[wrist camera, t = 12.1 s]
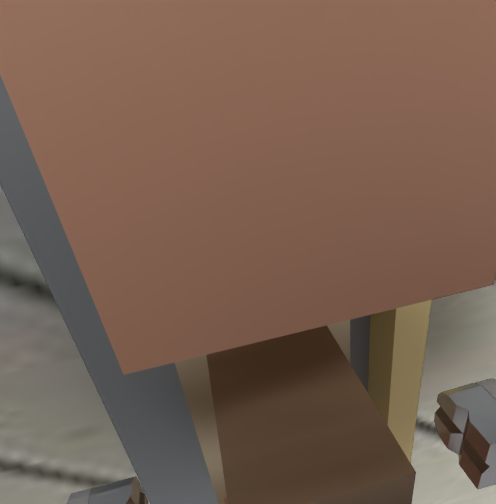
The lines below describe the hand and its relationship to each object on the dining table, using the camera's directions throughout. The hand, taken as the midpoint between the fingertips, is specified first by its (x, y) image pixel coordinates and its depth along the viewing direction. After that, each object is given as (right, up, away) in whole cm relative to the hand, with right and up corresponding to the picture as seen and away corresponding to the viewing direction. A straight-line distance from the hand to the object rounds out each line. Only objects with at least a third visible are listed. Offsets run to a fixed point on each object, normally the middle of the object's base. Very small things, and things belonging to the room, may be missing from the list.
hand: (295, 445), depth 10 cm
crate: (-2, +8, -2) cm, 9 cm away
